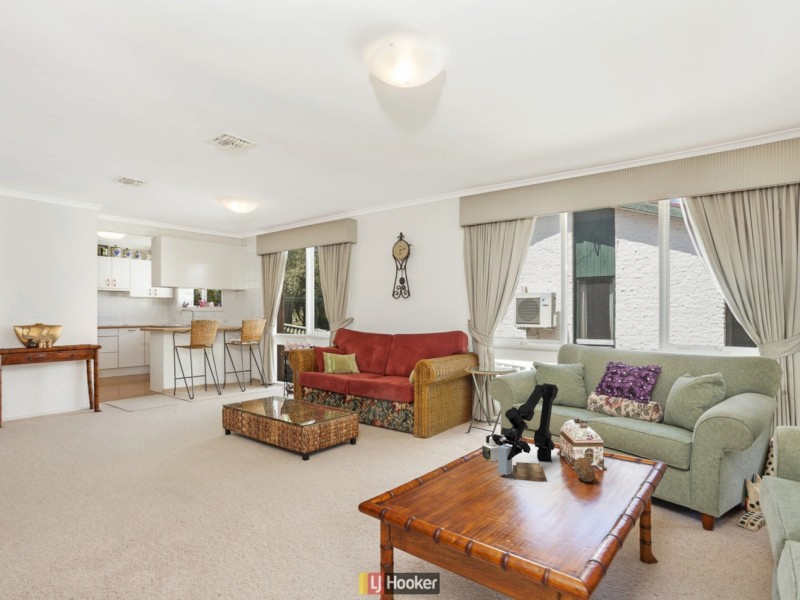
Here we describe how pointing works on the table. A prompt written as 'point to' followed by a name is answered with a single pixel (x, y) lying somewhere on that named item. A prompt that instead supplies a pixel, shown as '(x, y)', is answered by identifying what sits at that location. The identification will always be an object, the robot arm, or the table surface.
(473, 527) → the table surface
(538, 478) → the plinth
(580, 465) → the brown rock
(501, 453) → the block
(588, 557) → the table surface
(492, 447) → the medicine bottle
